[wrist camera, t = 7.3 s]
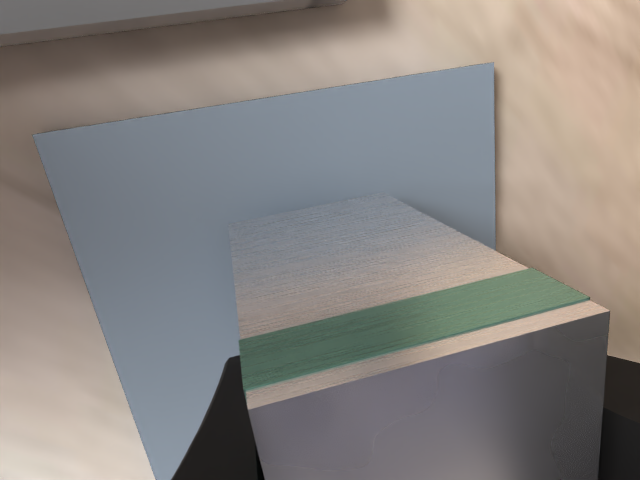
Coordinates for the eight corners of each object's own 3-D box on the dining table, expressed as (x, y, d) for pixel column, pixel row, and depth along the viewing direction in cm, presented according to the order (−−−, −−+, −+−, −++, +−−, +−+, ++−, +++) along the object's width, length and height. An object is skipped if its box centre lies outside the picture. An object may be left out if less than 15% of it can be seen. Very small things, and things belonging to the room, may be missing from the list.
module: (272, 422, 13) (333, 763, 6) (227, 223, 11) (244, 409, 4) (403, 385, 13) (586, 657, 7) (383, 191, 11) (611, 308, 5)
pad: (167, 492, 15) (165, 507, 14) (41, 132, 11) (32, 134, 10) (487, 398, 17) (497, 408, 16) (481, 63, 13) (494, 62, 12)
